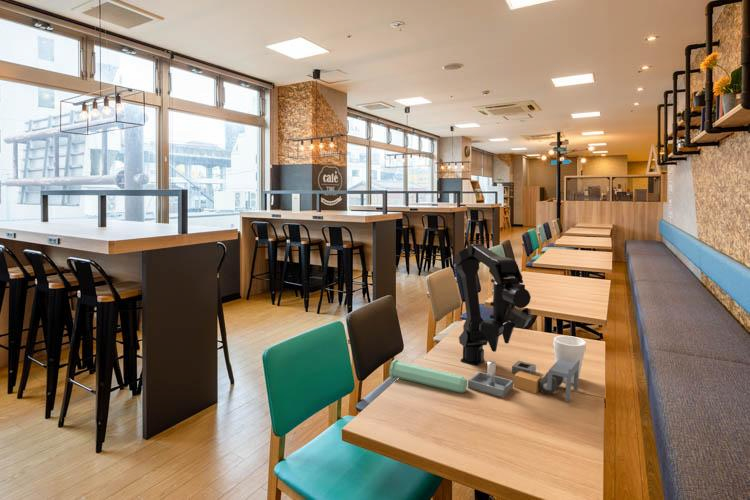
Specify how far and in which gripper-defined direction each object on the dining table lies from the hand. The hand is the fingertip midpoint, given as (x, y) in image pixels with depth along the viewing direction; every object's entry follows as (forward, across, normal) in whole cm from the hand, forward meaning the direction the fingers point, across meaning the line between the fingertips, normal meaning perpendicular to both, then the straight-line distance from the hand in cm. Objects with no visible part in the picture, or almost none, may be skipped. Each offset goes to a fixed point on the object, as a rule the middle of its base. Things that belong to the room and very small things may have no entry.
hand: (500, 347), depth 138 cm
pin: (+11, -6, 0) cm, 12 cm away
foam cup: (+12, +17, -16) cm, 26 cm away
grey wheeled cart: (+12, +6, -16) cm, 21 cm away
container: (+12, -15, +17) cm, 26 cm away
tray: (+12, -6, 0) cm, 13 cm away
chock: (+12, +2, -8) cm, 15 cm away
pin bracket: (+12, +13, -3) cm, 18 cm away
